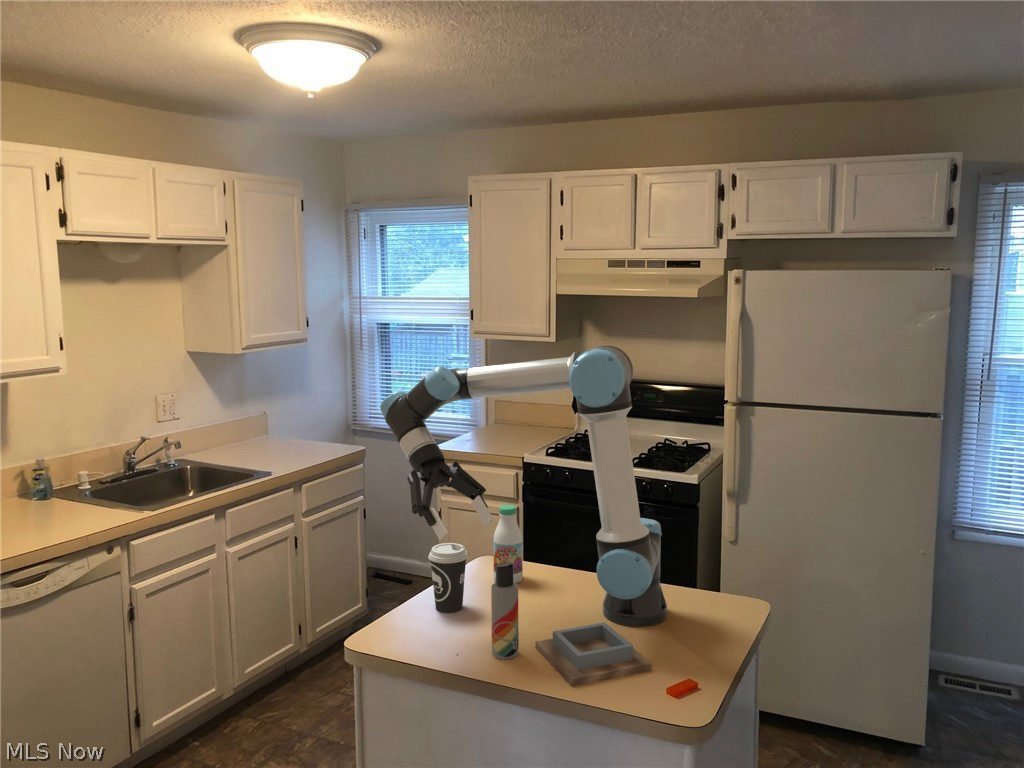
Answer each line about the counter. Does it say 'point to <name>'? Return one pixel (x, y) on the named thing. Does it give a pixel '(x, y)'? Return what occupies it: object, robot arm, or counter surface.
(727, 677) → the counter surface
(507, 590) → the lotion bottle
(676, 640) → the counter surface
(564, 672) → the stand board
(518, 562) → the milk bottle
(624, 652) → the bottle collar
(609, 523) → the robot arm
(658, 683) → the counter surface
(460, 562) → the coffee cup
